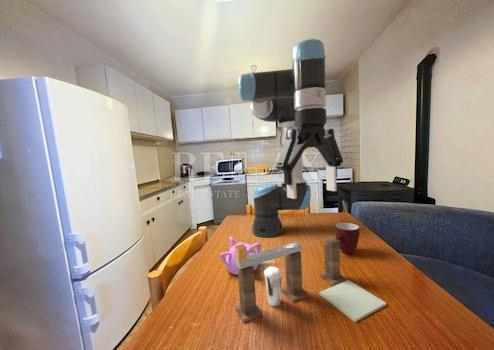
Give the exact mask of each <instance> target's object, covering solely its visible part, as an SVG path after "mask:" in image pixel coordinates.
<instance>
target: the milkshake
mask: <svg viewBox="0 0 494 350" xmlns="http://www.w3.org/2000/svg"><path fill="white" fill-rule="evenodd" d="M260 269H261V271H262V273H263V275H264V281H265V289H266V298H267V303H268V305H269V306H271V307H278V306H279V305H281V301H282V299H281V298H282V297H281V295H282V278H283V277H282V274H283V273H282V271H281V269H280V268H278V267H276V266H269V267H268V268H266V269H265V270H264V271H263V269H262V267H260Z"/></svg>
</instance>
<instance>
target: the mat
mask: <svg viewBox="0 0 494 350" xmlns="http://www.w3.org/2000/svg"><path fill="white" fill-rule="evenodd" d="M318 294H319V295H320V296H321V297H322V298H323V299H325V300H326V301H327V302H328V303H330V304H331V305H332V306H334V308H336V309H337V310H339V311H340V312H341V313H342V314H344V315H345V316H346V317H347V318H349V319H350V320H351V321H353V323H356V322H358V321H359V320H362V319H363V318H365V317H367V316H369V315H371V314H372V313H374V312H376V311H378V310H380V309H382V308H384V307H386V306H387V302H386V301H384V300H382V299H380V298H379V297H377V296H376V295H374V294H373V293H370V292H369V291H368V290H366V289H364V288H363V287H361V286H359V285H357V283H354V282H352V281H351V280H349V279H347V280H345V281H342V282H340V283H337V284H335V285H332V286H331V287H328V288H327V289H323V290H322V291H321V290H320V291H319V292H318Z"/></svg>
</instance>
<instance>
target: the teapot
mask: <svg viewBox="0 0 494 350" xmlns="http://www.w3.org/2000/svg"><path fill="white" fill-rule="evenodd" d="M228 238H229V240H230V248H229V251H224V252H221V253H220V254H219V257H220V260H221V261H222V263H223V264H224V265H225V268H226V270H227V271H228V272H229V273H230V274H232V275H235V276H238V267H237V266H236V259H235V246H237V245H241V244H243V245H244V246H245V247H246V252H247V255H250V254H254V253H258V252H261V248H262V244H261V243H260V242H256V243H254V244H252V245H250V244H249V243H244V242H242V241H240V242H238V243H235V240H234V237H232V236H231V235H229V237H228ZM254 248H256V250H255V249H254ZM259 265H260V264H256V265H253V267H254V272H255V271H256V270H257V269H258V267H259Z"/></svg>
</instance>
